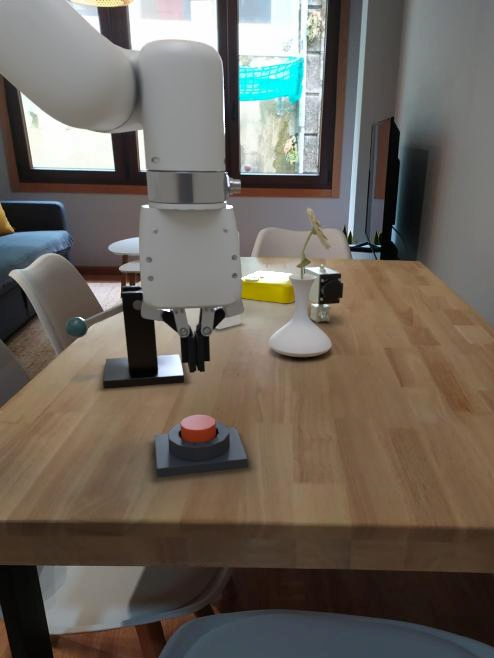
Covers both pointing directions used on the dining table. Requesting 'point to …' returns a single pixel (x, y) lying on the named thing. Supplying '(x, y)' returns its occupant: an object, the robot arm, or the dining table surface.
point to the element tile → (268, 287)
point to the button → (198, 428)
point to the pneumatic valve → (324, 291)
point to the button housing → (199, 452)
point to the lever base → (140, 350)
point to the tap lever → (89, 321)
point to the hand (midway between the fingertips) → (196, 367)
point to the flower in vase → (302, 311)
